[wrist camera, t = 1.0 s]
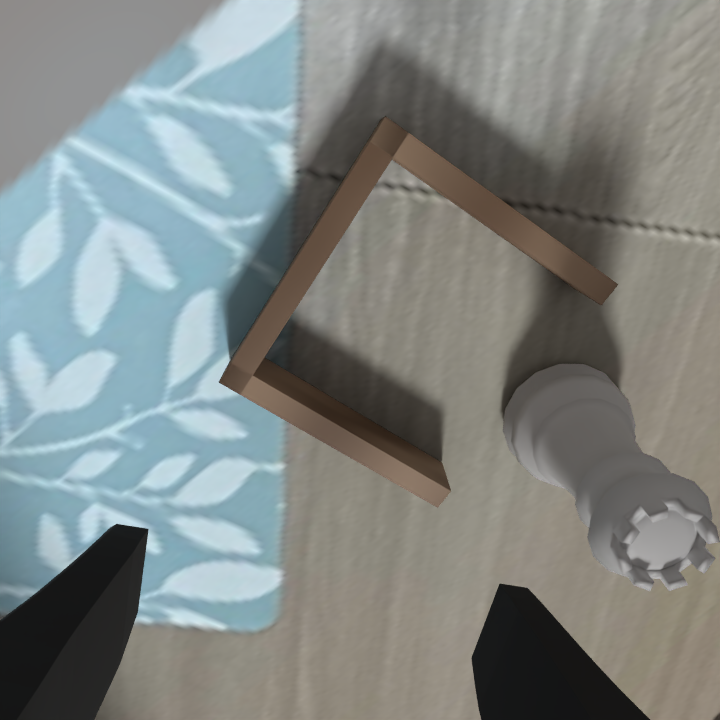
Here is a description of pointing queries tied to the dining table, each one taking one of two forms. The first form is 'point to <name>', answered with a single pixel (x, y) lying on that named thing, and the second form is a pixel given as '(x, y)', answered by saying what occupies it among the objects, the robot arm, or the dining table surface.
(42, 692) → the robot arm
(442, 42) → the dining table surface
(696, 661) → the dining table surface
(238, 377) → the bay
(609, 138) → the dining table surface
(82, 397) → the dining table surface
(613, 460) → the rook chess piece
